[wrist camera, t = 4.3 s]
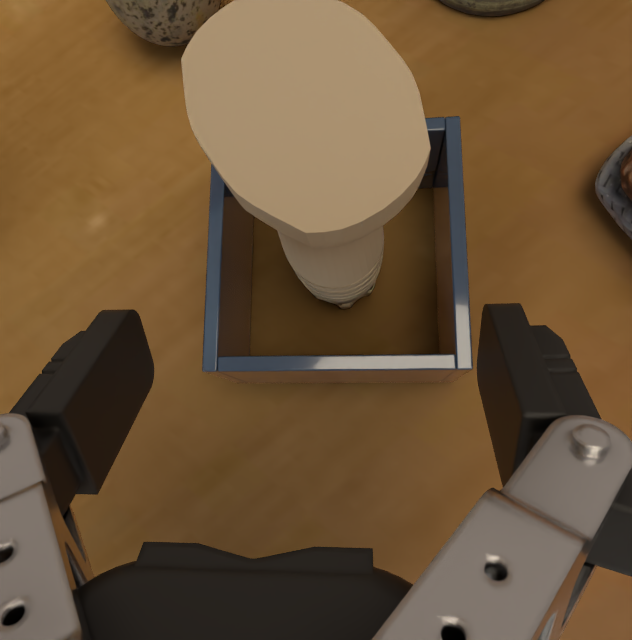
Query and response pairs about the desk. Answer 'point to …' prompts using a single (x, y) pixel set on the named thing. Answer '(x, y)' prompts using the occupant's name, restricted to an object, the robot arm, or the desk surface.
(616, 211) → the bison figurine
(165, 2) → the decorative egg
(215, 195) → the open box
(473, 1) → the container
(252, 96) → the handle
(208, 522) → the desk surface
